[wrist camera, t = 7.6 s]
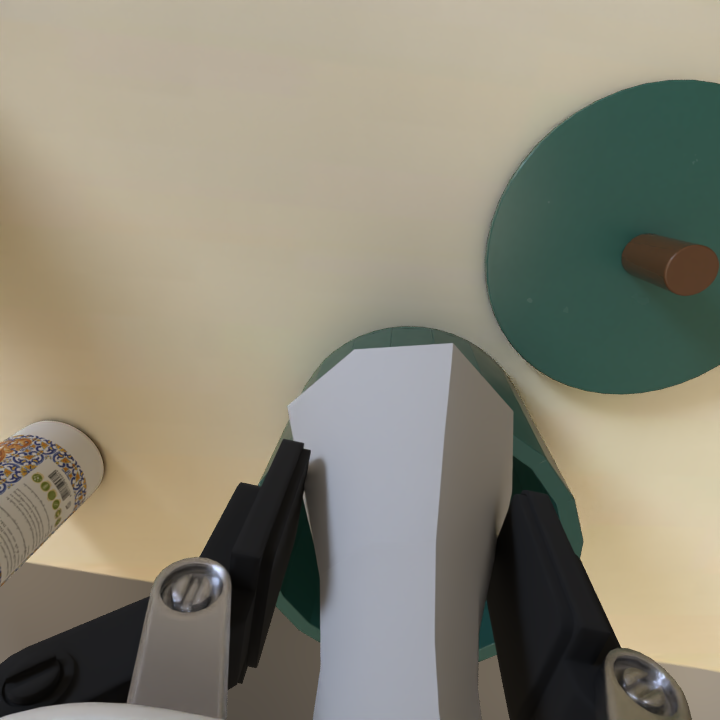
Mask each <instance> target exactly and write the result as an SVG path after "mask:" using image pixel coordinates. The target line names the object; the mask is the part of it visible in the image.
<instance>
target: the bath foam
mask: <svg viewBox="0 0 720 720" xmlns="http://www.w3.org/2000/svg"><path fill="white" fill-rule="evenodd" d="M103 472H104V467H103V461H102V457H101V455H100V452H99V450H98V449H97V447H96V446H95V444H94V443H93V442H92V441H91V439H90V438H89V437H87V436H86V435H85V434H84V433H83V432H81V431H80V430H78V429H77V428H75V427H73V426H71V425H68V424H65V423H62V422H58V421H39V422H35V423H32V424H30V425H28V426H26V427H25V428H23V429H21V430H20V431H18V432H17V433H15V434H14V435H12V436H11V437H9V438H8V439H6V440H4V441H3V442H1V443H0V587H1V586H2V585H3V584H4V583H5V582H6V581H7V580H8V579H9V578H10V577H11V576H12V575H13V574H14V573H15V572H16V571H17V570H18V569H19V568H20V567H21V566H22V565H23V564H24V563H25V562H26V561H27V560H28V559H29V558H30V556H31V555H32V554H33V553H34V552H35V551H36V550H37V549H38V548H39V547H40V546H41V545H42V544H43V543H44V542H45V541H46V540H47V539H48V538H49V537H50V536H51V535H52V534H53V533H54V532H55V531H56V530H57V529H58V528H59V527H60V526H61V525H62V524H63V523H64V522H65V521H66V520H67V519H68V518H69V517H70V516H71V515H72V514H73V513H74V512H75V511H76V510H77V509H78V508H79V507H80V506H81V505H82V504H83V503H84V502H85V501H86V499H87V498H88V497H89V496H90V495H91V494H92V493H93V492H94V491H95V490H96V489H97V488H98V486H99V485H100V483H101V481H102V478H103Z"/></svg>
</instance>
